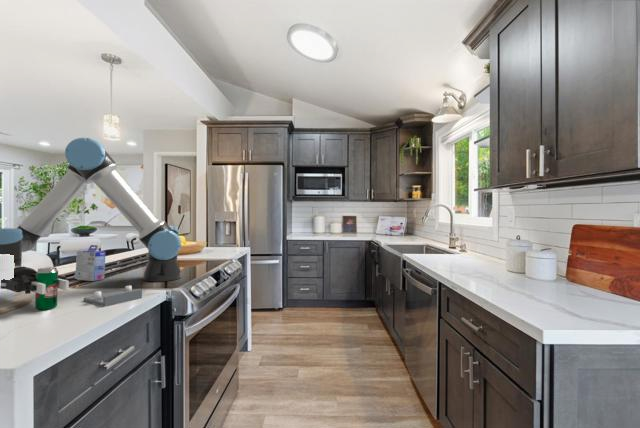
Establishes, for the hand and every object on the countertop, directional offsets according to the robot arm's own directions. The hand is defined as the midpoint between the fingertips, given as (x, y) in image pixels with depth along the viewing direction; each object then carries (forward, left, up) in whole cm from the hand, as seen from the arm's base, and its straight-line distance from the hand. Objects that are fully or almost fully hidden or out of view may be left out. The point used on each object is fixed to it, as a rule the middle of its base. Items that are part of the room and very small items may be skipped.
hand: (55, 287), depth 93 cm
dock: (-16, +1, -7) cm, 17 cm away
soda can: (0, -5, -7) cm, 9 cm away
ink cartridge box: (-29, -38, -7) cm, 49 cm away
